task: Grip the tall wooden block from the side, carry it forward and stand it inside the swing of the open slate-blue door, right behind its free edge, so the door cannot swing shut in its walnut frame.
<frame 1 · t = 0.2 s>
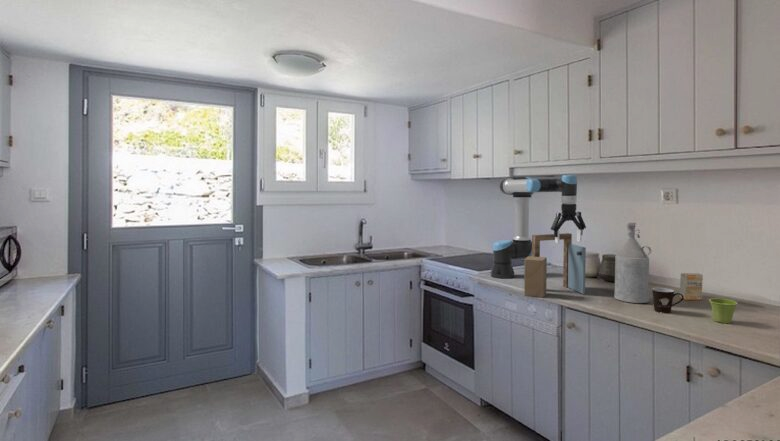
hand: (568, 242, 235), 28 cm above the worktop, tool pointing down, fingers open, 13 cm apart
supplement box: (690, 299, 217), on the worktop
coffee mug: (666, 312, 196), on the worktop
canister: (631, 300, 217), on the worktop
wooden block: (535, 294, 232), on the worktop
door frame: (551, 288, 245), on the worktop
door: (574, 268, 236), point 13 cm above the worktop, hinge at 80.0°
plant pot: (722, 321, 181), on the worktop
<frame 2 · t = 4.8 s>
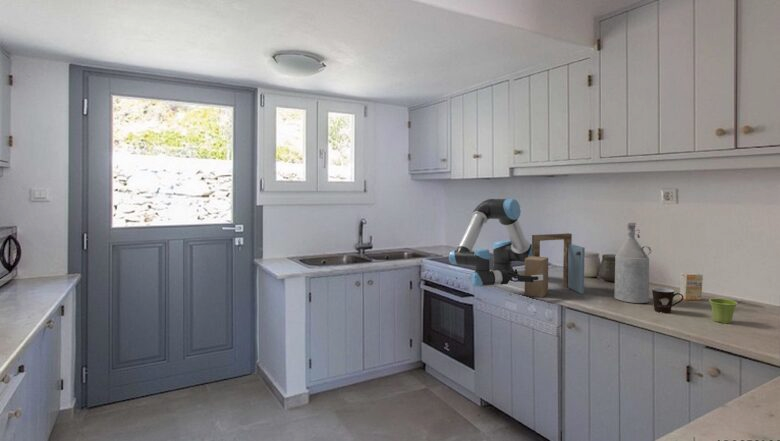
hand: (535, 274, 231), 11 cm above the worktop, tool horizontal, fingers open, 13 cm apart
wooden block: (536, 294, 232), on the worktop, touching gripper
door: (574, 268, 236), point 13 cm above the worktop, hinge at 78.1°
everything else where it was.
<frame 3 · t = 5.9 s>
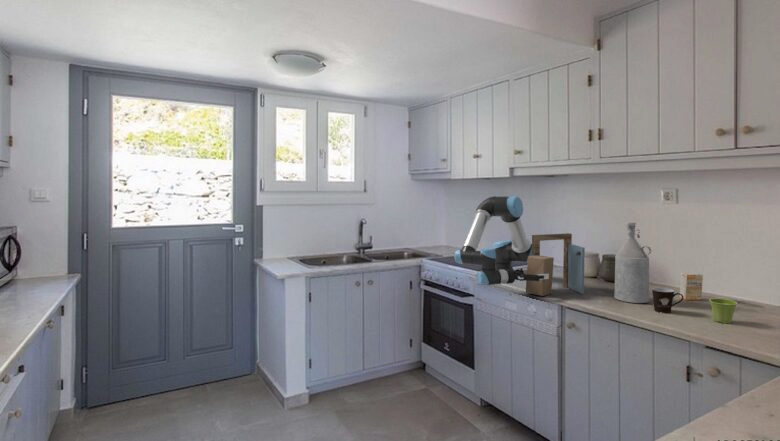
hand: (540, 273, 232), 11 cm above the worktop, tool horizontal, fingers closed on wooden block, 13 cm apart
wooden block: (538, 293, 233), on the worktop, touching gripper
everything else where it was.
when the fingers open (18 cm above the worktop, at t = 8.4 s): wooden block drops 7 cm, on the worktop.
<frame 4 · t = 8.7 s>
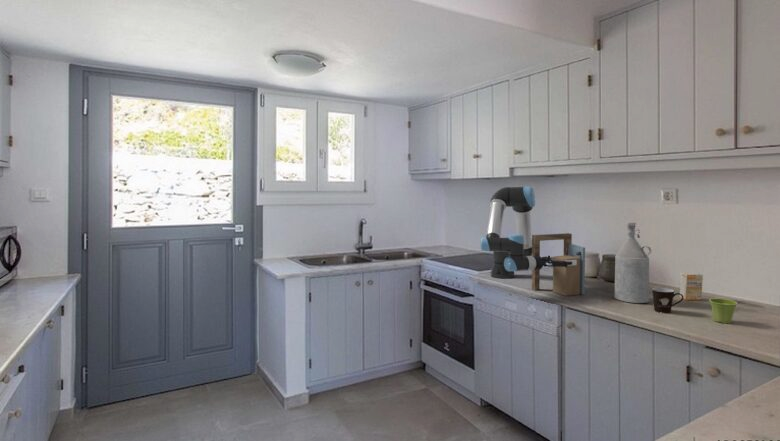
hand: (568, 260, 233), 18 cm above the worktop, tool horizontal, fingers open, 12 cm apart
wooden block: (566, 293, 233), on the worktop, touching gripper
door: (574, 268, 236), point 13 cm above the worktop, hinge at 79.0°
everything else where it was.
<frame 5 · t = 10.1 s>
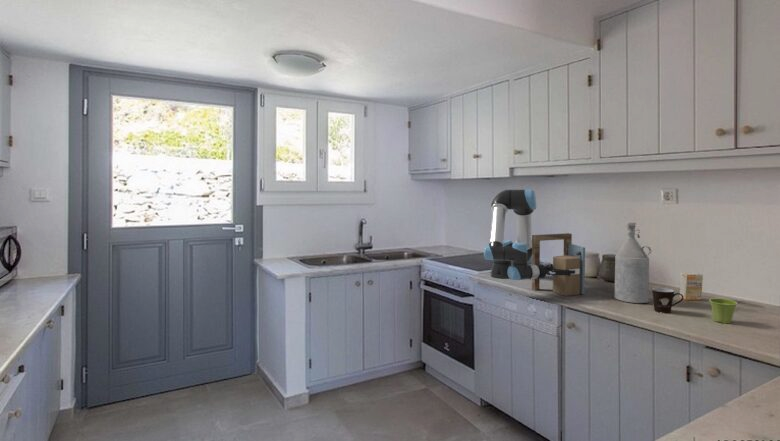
hand: (571, 269, 234), 13 cm above the worktop, tool horizontal, fingers open, 12 cm apart
wooden block: (566, 293, 233), on the worktop
everything else where it was.
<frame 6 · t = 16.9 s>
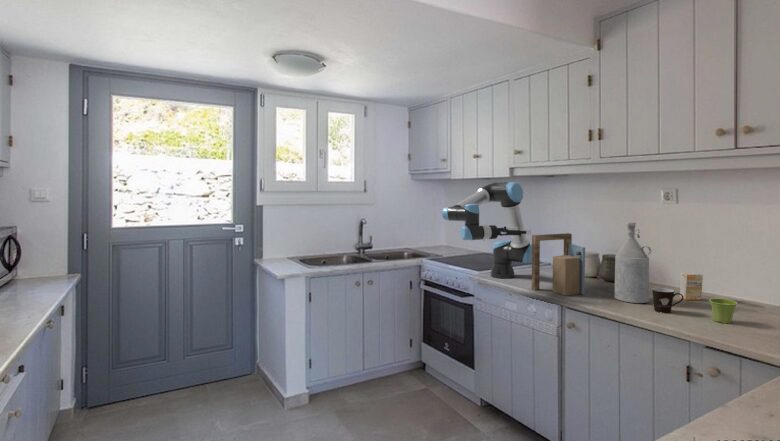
hand: (523, 230, 237), 34 cm above the worktop, tool horizontal, fingers open, 13 cm apart
nothing on the worktop moved.
at the end: wooden block inside the target area (0.4 cm from its centre), on the worktop; wooden block tilted 0°; door at +79° (first picture: +80°) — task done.
